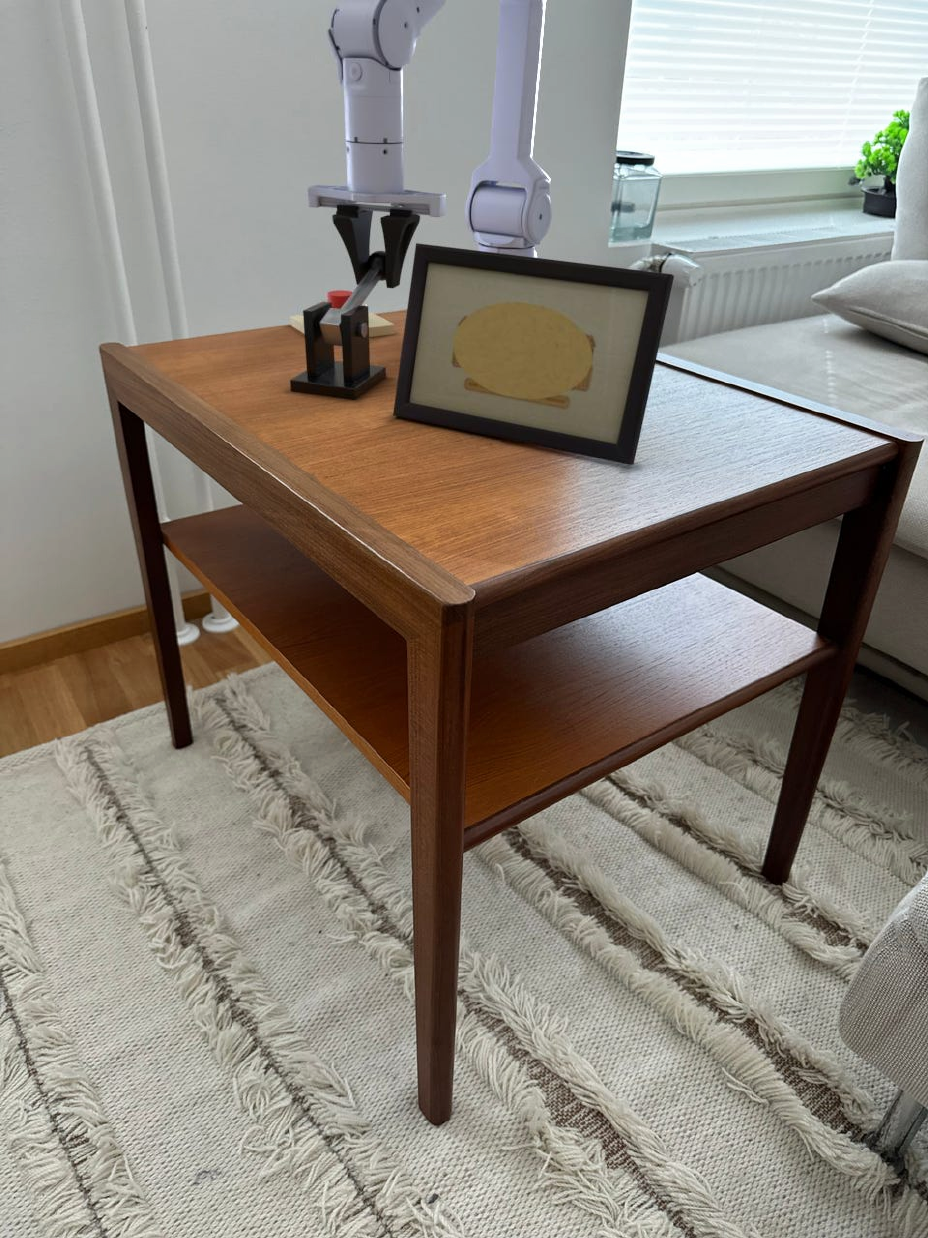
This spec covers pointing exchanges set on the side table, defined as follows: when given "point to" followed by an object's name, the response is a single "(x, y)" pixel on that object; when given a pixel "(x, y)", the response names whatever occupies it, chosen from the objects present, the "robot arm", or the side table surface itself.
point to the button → (338, 298)
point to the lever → (353, 299)
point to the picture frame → (531, 349)
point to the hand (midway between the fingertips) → (377, 284)
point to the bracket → (338, 375)
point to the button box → (376, 324)
